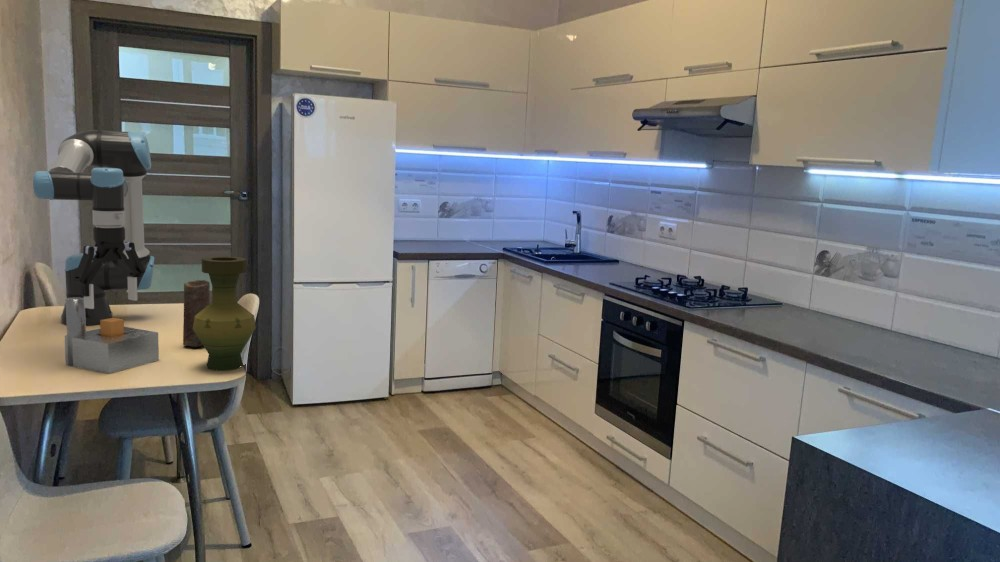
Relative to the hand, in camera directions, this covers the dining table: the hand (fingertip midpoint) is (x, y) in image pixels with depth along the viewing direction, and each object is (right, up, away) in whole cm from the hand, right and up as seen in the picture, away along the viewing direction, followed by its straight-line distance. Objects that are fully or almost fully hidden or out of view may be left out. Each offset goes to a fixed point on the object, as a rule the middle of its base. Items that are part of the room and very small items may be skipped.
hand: (111, 304), depth 195 cm
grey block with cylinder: (-1, -16, +2) cm, 16 cm away
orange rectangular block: (-1, -16, +2) cm, 16 cm away
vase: (+29, -18, +4) cm, 34 cm away
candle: (+13, -14, +23) cm, 30 cm away
